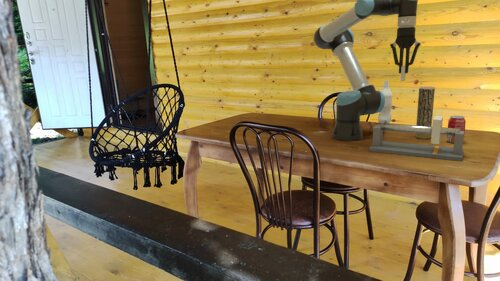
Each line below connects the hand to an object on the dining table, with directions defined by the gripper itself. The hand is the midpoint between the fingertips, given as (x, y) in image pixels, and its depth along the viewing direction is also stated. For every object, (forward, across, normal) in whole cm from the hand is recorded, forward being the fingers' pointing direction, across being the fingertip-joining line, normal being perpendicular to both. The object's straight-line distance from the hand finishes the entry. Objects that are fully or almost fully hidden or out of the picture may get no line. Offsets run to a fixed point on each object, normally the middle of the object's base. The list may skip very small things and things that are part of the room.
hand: (402, 80), depth 166 cm
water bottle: (+30, -15, +40) cm, 52 cm away
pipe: (+21, +9, -14) cm, 27 cm away
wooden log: (+30, +9, +13) cm, 34 cm away
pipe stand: (+29, +9, -14) cm, 34 cm away
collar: (+24, +17, -14) cm, 32 cm away
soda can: (+30, +23, +10) cm, 39 cm away
